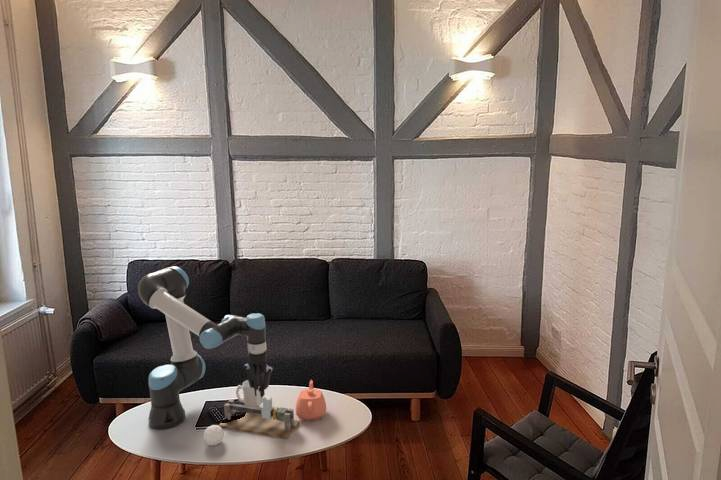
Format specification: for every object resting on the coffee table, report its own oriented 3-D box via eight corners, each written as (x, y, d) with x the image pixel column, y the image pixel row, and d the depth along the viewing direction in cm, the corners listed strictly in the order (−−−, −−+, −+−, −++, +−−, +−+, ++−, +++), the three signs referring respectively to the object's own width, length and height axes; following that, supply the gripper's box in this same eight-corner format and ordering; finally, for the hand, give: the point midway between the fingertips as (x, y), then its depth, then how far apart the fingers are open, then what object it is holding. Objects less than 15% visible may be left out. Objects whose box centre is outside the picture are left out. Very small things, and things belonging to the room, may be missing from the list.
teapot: (326, 402, 243) (325, 378, 240) (326, 426, 224) (325, 400, 221) (297, 403, 242) (296, 379, 240) (294, 428, 223) (293, 401, 220)
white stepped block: (261, 418, 221) (260, 399, 220) (266, 413, 225) (265, 395, 223) (270, 419, 220) (269, 401, 218) (274, 414, 224) (273, 396, 222)
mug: (260, 403, 243) (259, 379, 240) (257, 411, 236) (256, 386, 234) (239, 403, 243) (237, 379, 241) (235, 411, 237) (233, 386, 234)
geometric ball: (218, 451, 212) (218, 443, 206) (200, 443, 213) (199, 435, 207) (227, 434, 217) (227, 426, 211) (209, 426, 218) (209, 418, 212)
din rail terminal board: (218, 427, 224) (217, 408, 222) (233, 412, 235) (232, 394, 233) (288, 439, 215) (287, 419, 213) (299, 423, 226) (299, 404, 224)
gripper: (238, 352, 216) (241, 405, 221) (267, 356, 212) (270, 409, 217) (247, 345, 223) (250, 396, 228) (275, 349, 219) (278, 400, 224)
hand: (260, 402), depth 223 cm, fingers closed
